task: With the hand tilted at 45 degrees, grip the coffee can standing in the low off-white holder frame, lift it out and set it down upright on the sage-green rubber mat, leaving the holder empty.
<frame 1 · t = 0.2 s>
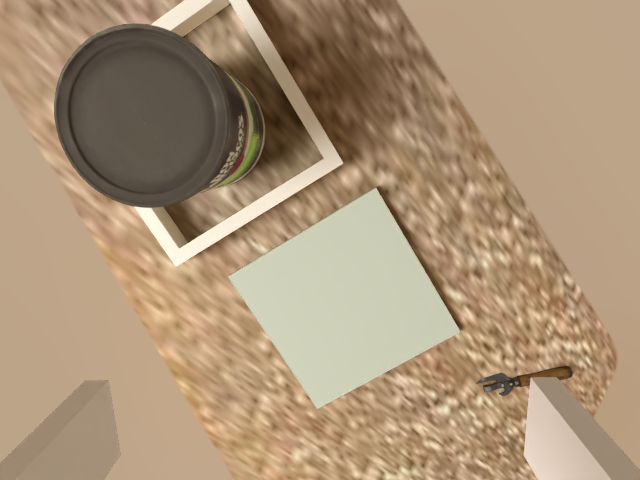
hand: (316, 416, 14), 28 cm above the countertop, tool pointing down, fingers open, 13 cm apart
holder frame: (208, 129, 39), on the countertop
coffee can: (209, 129, 39), resting in holder frame
mat: (344, 302, 42), on the countertop
can opener: (521, 374, 44), on the countertop
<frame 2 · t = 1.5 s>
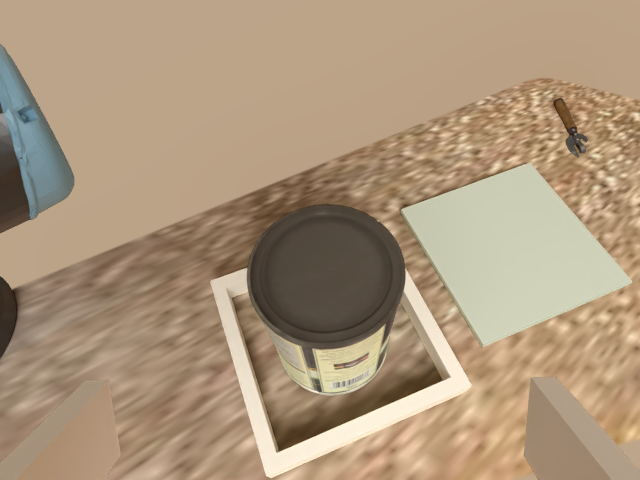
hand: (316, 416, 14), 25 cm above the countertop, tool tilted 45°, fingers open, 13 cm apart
holder frame: (331, 338, 40), on the countertop
coffee can: (331, 339, 40), resting in holder frame
mat: (507, 246, 44), on the countertop
can opener: (565, 131, 53), on the countertop
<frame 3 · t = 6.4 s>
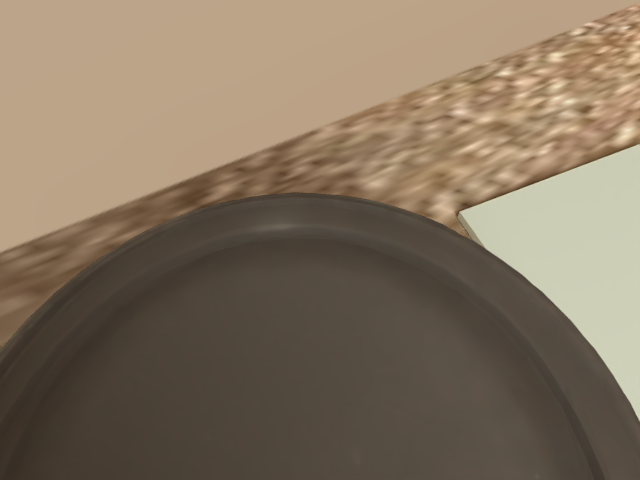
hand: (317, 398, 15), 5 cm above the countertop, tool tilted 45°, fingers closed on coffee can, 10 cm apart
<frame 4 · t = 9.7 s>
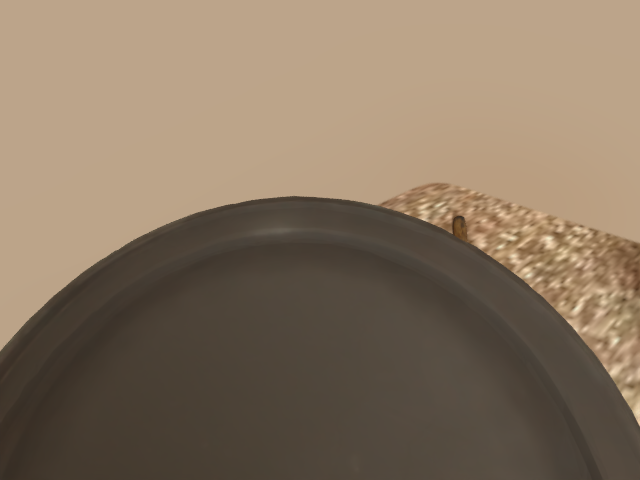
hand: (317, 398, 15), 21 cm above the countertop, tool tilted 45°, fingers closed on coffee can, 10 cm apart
can opener: (457, 262, 40), on the countertop
when the fingers open (8 cm above the countertop, at t = 13.2 s): coffee can drops 2 cm, resting on mat.
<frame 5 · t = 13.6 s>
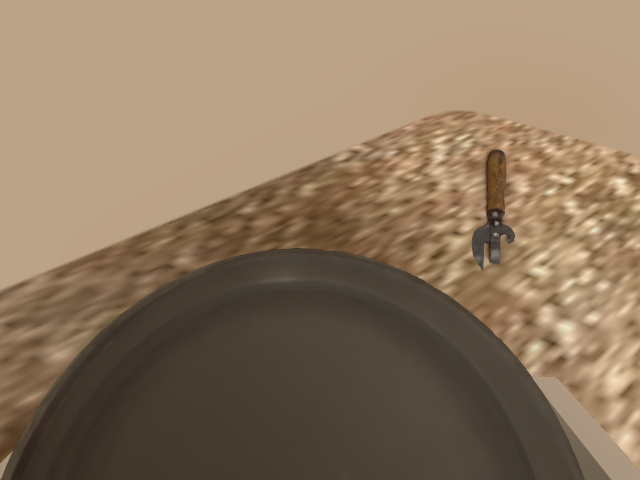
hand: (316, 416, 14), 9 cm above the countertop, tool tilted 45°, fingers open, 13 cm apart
can opener: (488, 212, 28), on the countertop
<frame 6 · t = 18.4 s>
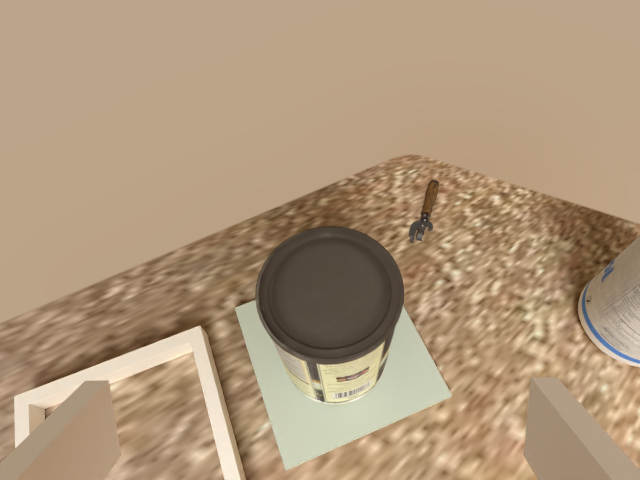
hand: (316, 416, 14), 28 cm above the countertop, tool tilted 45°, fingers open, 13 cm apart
holder frame: (135, 458, 39), on the countertop
coffee can: (333, 350, 42), resting on mat
supplement tub: (624, 322, 43), on the countertop
mat: (336, 350, 43), on the countertop
can opener: (424, 214, 51), on the countertop
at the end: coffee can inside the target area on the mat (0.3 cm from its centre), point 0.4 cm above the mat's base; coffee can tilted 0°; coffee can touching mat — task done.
